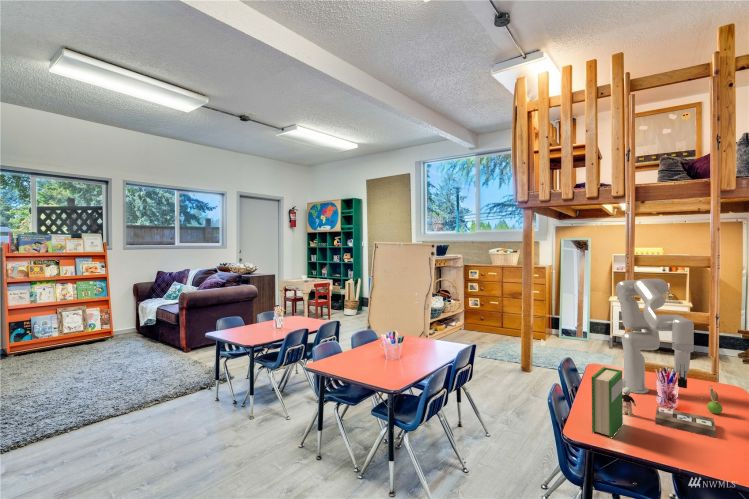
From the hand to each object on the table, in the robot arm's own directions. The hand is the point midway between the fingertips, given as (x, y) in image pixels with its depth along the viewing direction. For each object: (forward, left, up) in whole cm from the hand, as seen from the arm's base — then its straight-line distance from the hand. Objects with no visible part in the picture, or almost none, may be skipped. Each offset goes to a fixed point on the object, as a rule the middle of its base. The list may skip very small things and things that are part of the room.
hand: (682, 387), depth 169 cm
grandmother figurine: (-20, -5, -16) cm, 27 cm away
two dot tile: (-6, -2, -14) cm, 15 cm away
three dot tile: (+1, -2, -16) cm, 16 cm away
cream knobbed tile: (+7, -2, -16) cm, 17 cm away
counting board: (+1, -2, -16) cm, 16 cm away
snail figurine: (+12, +21, -16) cm, 29 cm away
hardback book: (-25, -26, -16) cm, 40 cm away
